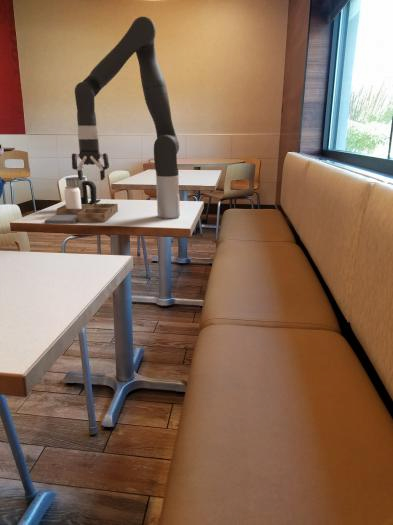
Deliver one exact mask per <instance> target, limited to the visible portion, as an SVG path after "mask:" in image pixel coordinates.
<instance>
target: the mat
mask: <svg viewBox="0 0 393 525" xmlns="http://www.w3.org/2000/svg"><path fill="white" fill-rule="evenodd" d="M76 223H78V222H77V215H73V214H57V213H56V214H54V215H52V216H51V217H48V218H47V219H44V224H76Z"/></svg>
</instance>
